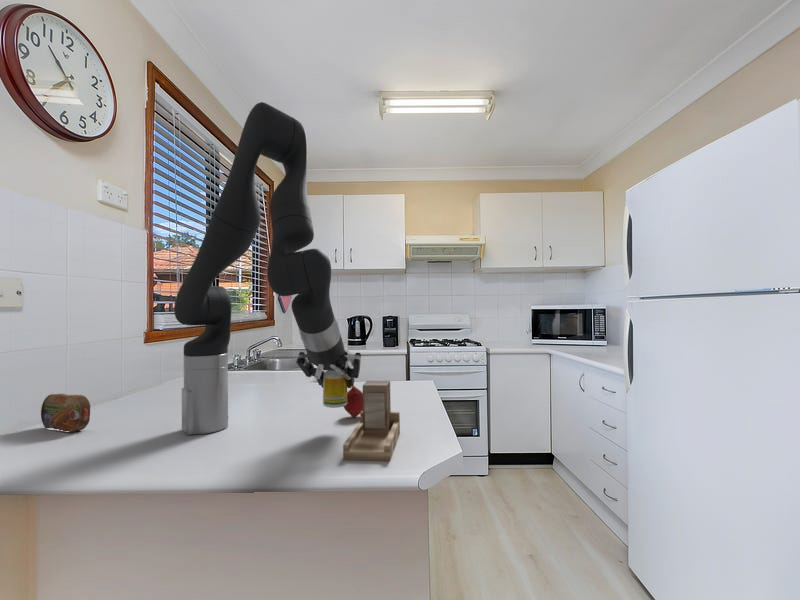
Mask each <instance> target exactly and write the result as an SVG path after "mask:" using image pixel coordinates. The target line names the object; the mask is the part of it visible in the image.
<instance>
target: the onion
mask: <svg viewBox="0 0 800 600" xmlns="http://www.w3.org/2000/svg"><path fill="white" fill-rule="evenodd" d="M342 408H343V409H344V410H345V411H346V412H347V413H348V415H350V416H351V417H352V418H357V417H358V416H360V412H361V411H363V391H362V390H360V389H359V388H357V387H356V385H353V386H352V387H351V388H350V389H349V390H347V404H346V405H345V406H343V407H342Z"/></svg>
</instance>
